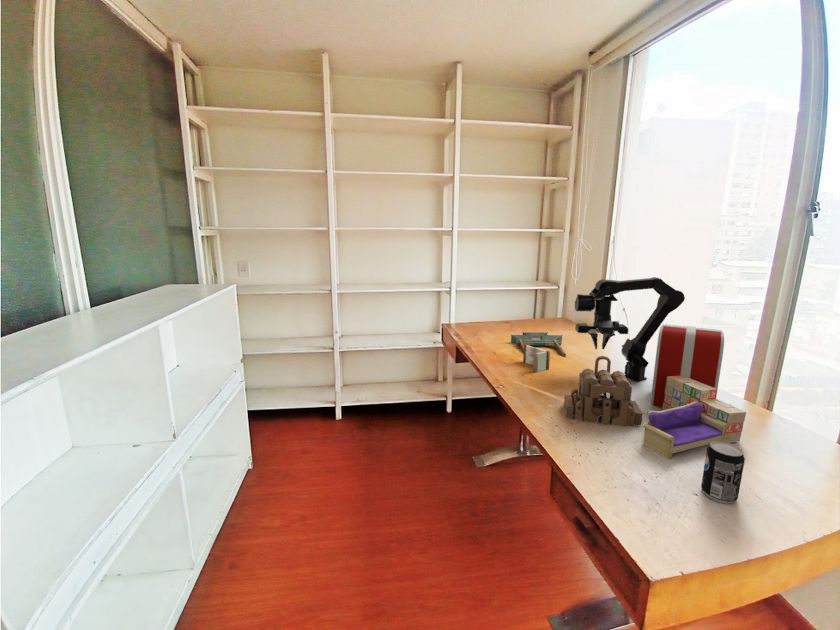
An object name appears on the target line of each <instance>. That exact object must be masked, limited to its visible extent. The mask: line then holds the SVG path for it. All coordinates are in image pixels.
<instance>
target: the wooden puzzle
mask: <svg viewBox="0 0 840 630" xmlns="http://www.w3.org/2000/svg"><path fill="white" fill-rule="evenodd" d="M601 360H604V361H606V363H607V364H606V369H600V370H599V362H600V361H601ZM611 363H612V362H611V359H610V358H609V357H608V356H605V355H602V356H598V357H596V359H595V362H594V369H591V368H584V369H583V370H582V372H579V374H578V375H579V378H578V387H575V388H572V390H571V391H570V392H571V393H570V394H564V402H563V403H564V409H565V418H566V419H574V420H575V421H583V423H591V424H592V423H594V424H598V423H599V417H601V418H600V423H601V425H602V426H607V427H608V426H610V425H611V426H617V427H630V428H631V427H632V428H634V427H635V426H642V422H643V411H642V410H641V408H640V407H639V405H638V403H637V401H636V400H632V390H633V387H632V385H631V384H630V382H629V380H628V378H626V377H625V374H624V373H625V372H622V371H620V370H615V371H613V372H612V373H611V366H612V365H611ZM608 394H609V397H607V395H608Z"/></svg>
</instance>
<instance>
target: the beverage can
mask: <svg viewBox="0 0 840 630" xmlns="http://www.w3.org/2000/svg"><path fill="white" fill-rule="evenodd" d="M704 458H705V459H704V466H703V471H702V472H703V473H702V479H701V485H700V487H701V491H702V492H703V493H704V495H706V497H708V499H709V498H710V499H711V500H712V501H714V502H717V503H721V504H727V505H729V504H732V503H735V502H737V501H738V499H739V494H740V489H741V483H742V478H743V471H744V466H745V461H746V460H745V459H746V458H745V456H744V451H743V449H741V448H740V447H738V445H737V446H736V445H735V444H733V443H731V442H730V443H726V442H721V441H714V442H711V443H710V444H709V445H708V447H707V448H706V453H705V457H704Z"/></svg>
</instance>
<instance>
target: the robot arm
mask: <svg viewBox="0 0 840 630" xmlns="http://www.w3.org/2000/svg"><path fill="white" fill-rule="evenodd" d="M594 286H595V287H594V288H593V289H592V290H591V291H590V293H588V294H581V293H577V295H576V298H575V301H574V310H575V312H593V311H594V312H593V315H594V316H593V317H594V318H593V323H592V325H588V324H587V323H583V322H582V323H579V322H578V323H576V324H575V325H574V326H575V328H574V330H575V331H576V332H577V333H578V334H588V335H590V337H591V341H592V342H593V345H594V349H595V350H598V336H599V334H600V335H602V340H601V341H602V343H601V349H602V350H604V349H606V346H607V344H608V342H609V340H610V339H611V338H612V337H615V336H616V333H615V332H617V333H618V334H619V335H629V327H627V325H625V324H623V323H622V324H620V322H619V321H618V320H614V321H613V320H612V315H611V313H612V312H611V311H612V302H617V301H618V298H616V297H615V295H617V294H619V293H623V292H626V291H627V292H628V291H630V292H631V291H640V290H649V289H650V290H651V289H653V290H654V291H655V293H657V294H658V295H659V297H658V299H657V303H656V307H655V309H654V311H653V312H652V313H651V314H650V316H649V317H648V319H647V320H646V321H645V323H644V324H643V326H642V327H641V328H640V330H639V331H638V333H637V334H636V336H635V337H633V338H632V339H630V338H627V339H626V340H625V342H624V343H623V345H621V354H622V356H623V357H624V358H625V361H626V364H625V365H624V372H623V373H624V375H625V377H626V378H627V380H628V379H629V380H631V381H633V382H636V383H637V382H641V381H644V380H647V379H648V378H647V377H645V375H646V368H647V366H648V365H649V362H648V360H646V359H645V357H644V355H645V353H646V349H647V344H648V343H649V341H650V340H651V339H652V338H653V336H654V334H655V333H656V332H657V331H658V330H659V328H660V327H661V326H662V325H661V324H662V323H663V322H664V321H665V320H666V318H667V317H668V315H669V314H670V313H672V312H674V311H675V310H677V309H678V308H679V307H680V306H681V305H682V304H683V303H684V301H685V299H686V296H685V294H684V292H682V291H681V290H678V289H675V288H674V287H672V286H670V285H669V284H668V283H666V282H665V281H664V280H663V279H662V278H660V277H655V276H654V277H653V276H652V277H649V278H638V279H637V278H635V279H628V280H613V279H599V280H598V281H596V284H595V285H594ZM597 332H599V334H598V333H597Z"/></svg>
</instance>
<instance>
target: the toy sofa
mask: <svg viewBox="0 0 840 630" xmlns="http://www.w3.org/2000/svg"><path fill="white" fill-rule="evenodd" d="M702 409H703V407H702V405H701V404H700V403H699V402H696V401H695V402H692V403H690V404H688V405H684V406H680V407H676V408H672V409H668V410H664V411H662V410H661V411H660V410H659V411H657V410H656V411H655V410H649V411H648V412H647V422H644V423H643V425H642V426H643V429H644V432H643V433H644V434H643V445H644V446H646V447H647V448H649V449H651V450H653V451H654V452H656V453H658V454H659V455H661V456H662V457H664V458H666V459H668V460H672V459H673V454H676V453H679V452H684V451H687V450H691V449H695V448H699V447H703V446H708V445H710V443H711V442H714V441H721V442H723V439H724V433H725V429H726V428H727V424H725V423H723V422H720V421H718V420H716V419H713V418H711V417H709V416H706V415H704V414H702V413H701V412H702Z"/></svg>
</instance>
